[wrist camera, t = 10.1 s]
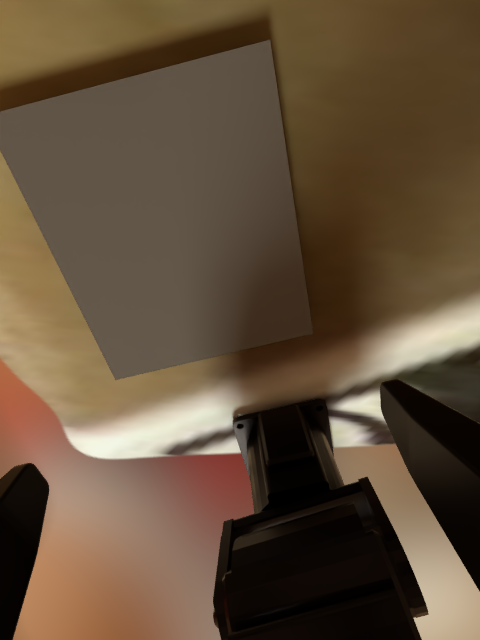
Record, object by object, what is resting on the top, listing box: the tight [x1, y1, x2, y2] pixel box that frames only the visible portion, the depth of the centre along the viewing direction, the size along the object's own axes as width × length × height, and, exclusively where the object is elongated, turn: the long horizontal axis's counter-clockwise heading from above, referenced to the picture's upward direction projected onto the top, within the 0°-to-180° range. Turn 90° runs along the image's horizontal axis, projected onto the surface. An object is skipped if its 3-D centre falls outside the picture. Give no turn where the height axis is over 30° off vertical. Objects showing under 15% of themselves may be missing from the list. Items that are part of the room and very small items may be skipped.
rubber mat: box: [0, 40, 313, 380], centre depth 18 cm, size 14×12×1 cm
